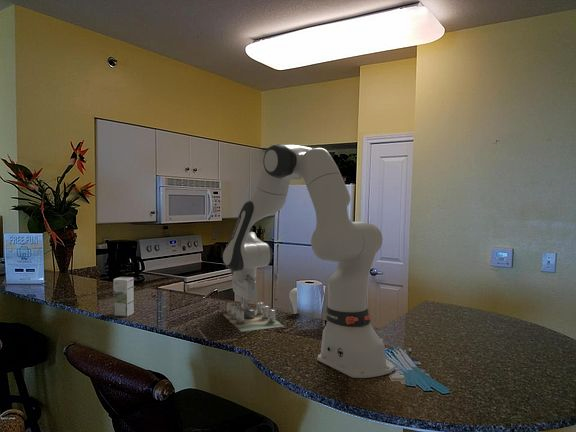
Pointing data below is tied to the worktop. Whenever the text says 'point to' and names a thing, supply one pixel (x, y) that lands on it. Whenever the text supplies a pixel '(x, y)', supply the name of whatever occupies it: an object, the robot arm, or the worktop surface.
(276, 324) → the board
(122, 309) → the syrup box
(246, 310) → the dark metal plug
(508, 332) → the worktop surface
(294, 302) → the lightbulb
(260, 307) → the spacers
